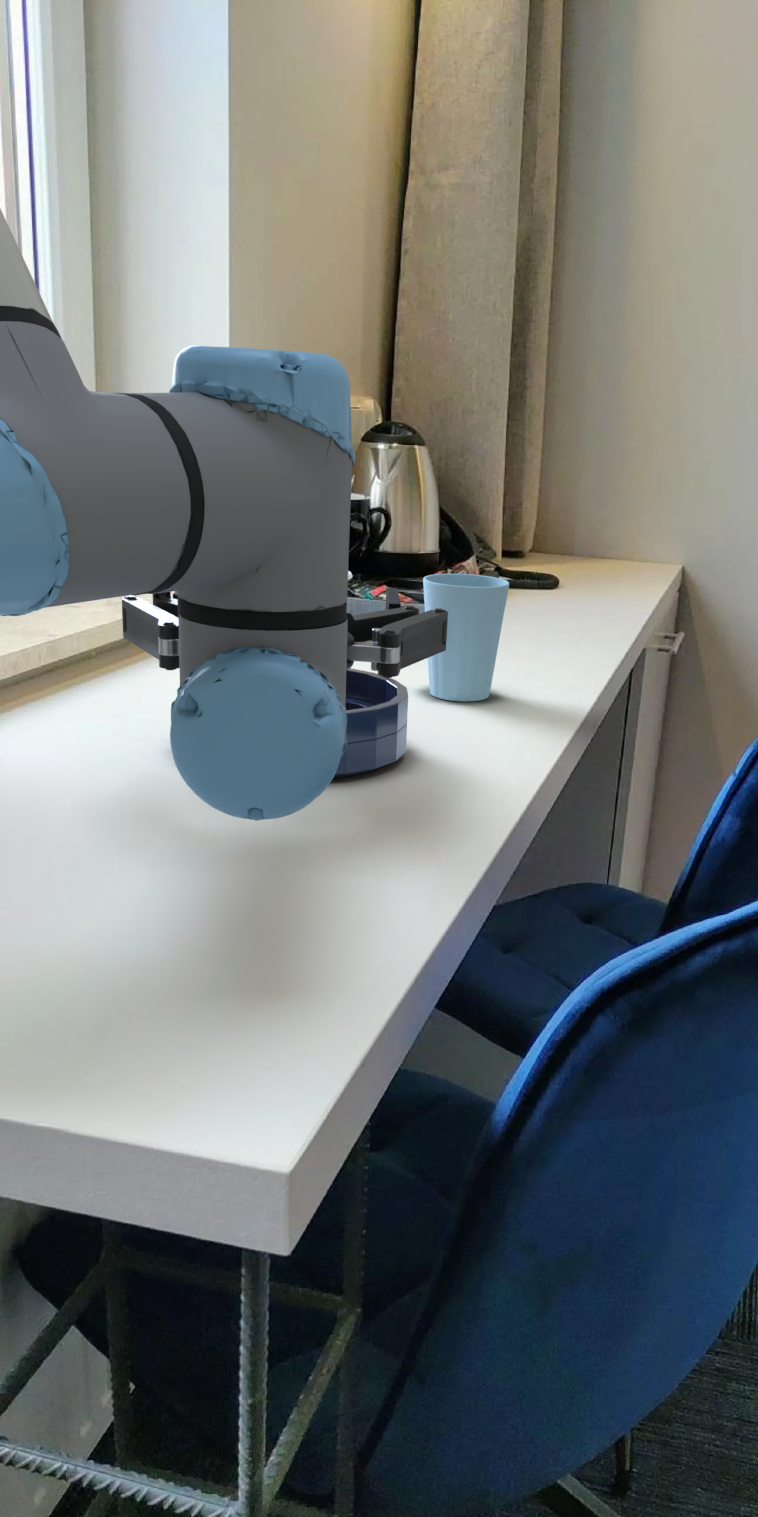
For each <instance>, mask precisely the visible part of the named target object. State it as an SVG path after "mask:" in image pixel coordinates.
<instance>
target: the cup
mask: <svg viewBox="0 0 758 1517" xmlns="http://www.w3.org/2000/svg"><path fill="white" fill-rule="evenodd" d="M422 584H423V586H422V587H423V600H424V612H426V611H429V610H435V608H441V609H444V610H446V611H448V624H447V642H446V650H445V651H443V652H441V653H438V654H436V655H433V656H431V657H429V658H427V669H428V686H429V694H430V695H431V696H433V697H435V698H438V699H441V700H445V701H450V702H478V701H483V700H487V699H489V696H490V694H491V688H492V683H493V677H494V672H495V666H496V661H497V657H498V656H497V655H498V649H499V643H500V638H501V634H502V627H503V621H504V616H505V609H506V606H507V600H508V594H509V590H510V589H509V588H510V582H509V581H508V580H506V579H503V578H500V577H495V576H489V575H481V574H472V573H471V574H470V573H436V574H435V573H434V574H429V575H426V576H424V577H423V578H422Z"/></svg>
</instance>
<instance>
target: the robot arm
mask: <svg viewBox="0 0 758 1517" xmlns="http://www.w3.org/2000/svg"><path fill="white" fill-rule="evenodd" d="M75 364H76V363H75V362H74V360H73V358H72V356H71V354H70V352H69V350H68V347H67V345H66V344H65V341H64V340H63V338H62V335H61V334H60V331H59V330H58V329H57V327H56V325H55V323H54V321H53V319H52V317H51V315H50V313H49V310H48V308H47V306H46V304H45V302H44V300H43V297H42V296H41V293H40V291H39V289H38V287H37V284H36V282H35V280H34V278H33V276H32V274H31V272H30V269H29V267H28V265H27V263H26V260H25V259H24V256H23V254H22V252H21V250H20V248H19V245H18V243H17V241H16V239H15V237H14V234H13V232H12V230H11V228H10V225H9V223H8V221H7V220H6V217H5V215H4V213H3V211H2V208H0V616H1V617H7V616H8V617H20V616H25V615H28V614H30V613H33V612H37V611H40V610H42V609H45V608H53V607H60V606H64V605H72V604H78V603H85V602H92V601H93V602H94V601H99V600H100V601H101V600H106V599H113V598H120V597H122V598H121V615H122V616H121V620H122V621H121V622H122V638H123V639H124V640H126V641H127V642H129V643H130V644H133V645H134V646H136V647H137V648H139V649H140V650H142V651H144V652H145V653H147V654H149V655H150V656H152V657H153V658H155V659H156V660H158V667H159V668H160V669H165V670H166V671H175V670H177V669H179V686H178V688H177V689H176V698H174V700H173V701H172V702H171V707H170V728H169V740H170V749H171V753H172V758H173V762H174V763H175V766H176V768H177V771H178V773H179V775H180V777H181V778H182V780H183V781H184V783H185V785H186V786H187V787H188V788H189V789H190V790H191V791H192V792H193V793H194V794H195V795H196V796H197V798H199V799H200V800H202V801H203V802H204V803H206V804H207V805H208V806H210V807H211V808H213V809H214V810H216V811H219V812H221V813H223V814H226V815H228V816H231V817H234V818H239V819H243V820H252V821H262V820H263V821H264V820H274V819H280V818H284V817H287V816H290V815H292V814H294V813H297V812H299V811H301V810H303V809H304V808H306V807H308V806H309V805H310V804H311V803H313V802H314V801H315V800H317V799H318V797H320V796H321V795H322V794H323V792H324V791H325V790H326V789H327V788H328V787H329V786H330V784H331V782H332V781H333V779H334V778H333V777H334V775H335V773H336V771H337V768H338V766H339V762H340V758H341V757H342V756H343V755H344V754H345V751H346V747H347V739H348V738H347V734H346V729H347V714H346V708H345V700H346V670H348V669H350V668H352V667H353V666H354V664H355V662H361V663H362V662H364V663H370V670H371V671H372V672H377V674H378V675H380V676H382V677H385V678H391V679H393V678H395V677H398V676H399V675H400V673H401V670H403V669H405V668H407V667H409V666H412V665H414V664H417V663H419V662H422V661H423V660H426V659H428V658H429V657H431V656H433V655H436V654H438V653H441V652H443V651H445V650H446V642H447V624H448V611H446V610H444V609H441V608H435V610H429V611H426V612H425V611H424V612H420V608H418V607H415V606H414V605H402V602H401V598H400V594H399V590H398V588H396V587H385V609H383V610H377V611H371V612H365V613H360V614H352V613H350V612H347V609H348V603H347V602H348V588H349V586H348V584H349V580H348V571H349V555H350V554H349V552H350V550H349V549H350V530H351V529H350V528H351V502H352V482H353V481H352V480H353V467H355V462H356V453H355V451H354V447H353V445H352V409H351V382H350V377H349V374H348V372H347V369H346V368H345V366H344V365H343V364H342V363H341V362H340V361H339V360H338V359H337V358H335V357H334V356H332V355H331V354H326V353H324V352H323V353H321V352H308V351H299V350H296V351H295V350H277V349H265V348H252V347H233V346H212V345H211V346H208V345H189V346H186V347H185V348H183V349H182V350H180V352H178V353H177V355H176V357H175V359H174V363H173V369H172V380H171V388H170V389H169V391H168V392H132V393H128V392H105V391H95V390H94V391H93V390H90V389H89V388H88V387H87V386H86V385H85V384H84V382H83V380H82V378H81V375H80V373H79V371H78V369H77V366H76V365H75ZM171 594H172V595H171ZM142 595H152V602H151V603H150V602H149V601H147V600H145V599H143V598H141V597H138V596H142Z"/></svg>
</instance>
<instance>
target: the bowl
mask: <svg viewBox="0 0 758 1517" xmlns="http://www.w3.org/2000/svg"><path fill="white" fill-rule="evenodd" d="M408 707H409V692H408V687H407V686H405V685H403V683H401V682H399V681H397V679H393V678H385V677H382V676H380V675H378V673H376V672H373V671H367V670H362V669H356V668H352V667H351V668H350V669H348V670H346V700H345V708H346V714H347V729H346V734H347V738H348V739H347V747H346V751H345V754H344V755H343V756H342V757H341V758H340V762H339V766H338V768H337V771H336V773H335V775H334V777H333V779H334V778H343V777H350V776H354V775H359V774H363V773H367V772H371V771H373V770H376V769H379V768H382V767H384V766H386V765H389V764H392V763H395V762H397V761H398V760H399V759H401V757H402V756H403V755H404V754H406V752H407V733H408V709H409V708H408Z"/></svg>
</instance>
